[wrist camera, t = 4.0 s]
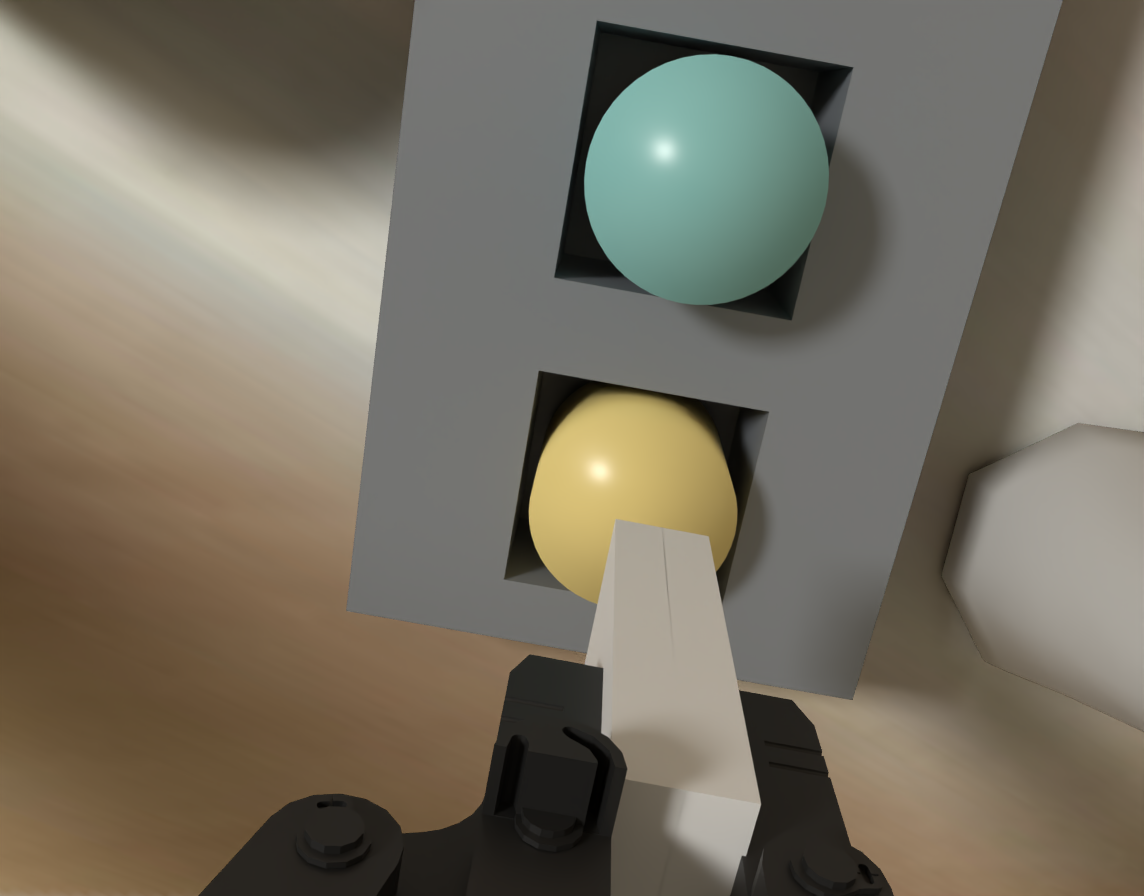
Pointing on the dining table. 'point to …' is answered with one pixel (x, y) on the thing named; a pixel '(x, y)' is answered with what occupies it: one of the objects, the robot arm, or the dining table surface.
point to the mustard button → (626, 478)
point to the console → (680, 306)
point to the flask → (1059, 566)
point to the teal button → (706, 179)
